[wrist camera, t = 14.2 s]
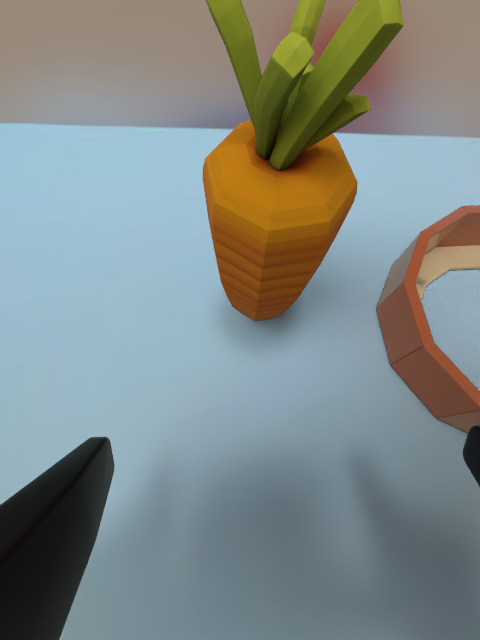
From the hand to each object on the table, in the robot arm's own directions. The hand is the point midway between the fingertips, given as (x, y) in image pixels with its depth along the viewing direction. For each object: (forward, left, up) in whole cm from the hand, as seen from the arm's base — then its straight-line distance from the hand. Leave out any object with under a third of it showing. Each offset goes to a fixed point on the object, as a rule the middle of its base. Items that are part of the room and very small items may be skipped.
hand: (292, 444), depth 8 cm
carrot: (+8, 0, -10) cm, 12 cm away
